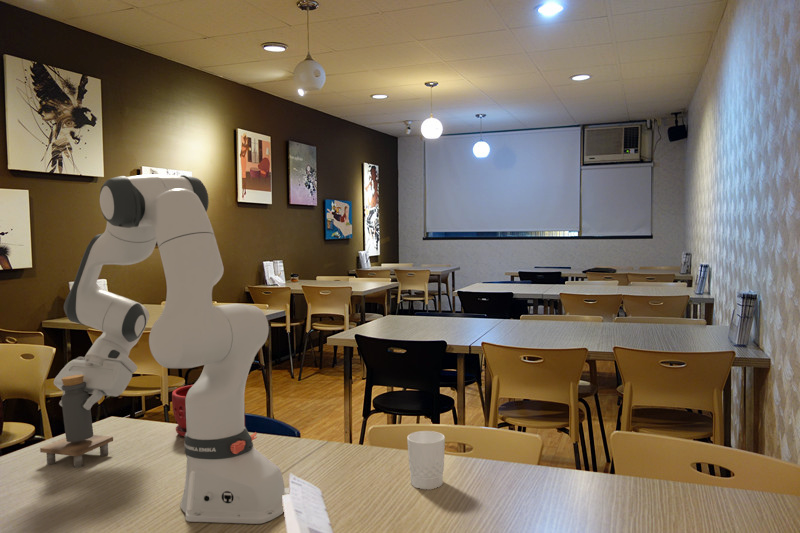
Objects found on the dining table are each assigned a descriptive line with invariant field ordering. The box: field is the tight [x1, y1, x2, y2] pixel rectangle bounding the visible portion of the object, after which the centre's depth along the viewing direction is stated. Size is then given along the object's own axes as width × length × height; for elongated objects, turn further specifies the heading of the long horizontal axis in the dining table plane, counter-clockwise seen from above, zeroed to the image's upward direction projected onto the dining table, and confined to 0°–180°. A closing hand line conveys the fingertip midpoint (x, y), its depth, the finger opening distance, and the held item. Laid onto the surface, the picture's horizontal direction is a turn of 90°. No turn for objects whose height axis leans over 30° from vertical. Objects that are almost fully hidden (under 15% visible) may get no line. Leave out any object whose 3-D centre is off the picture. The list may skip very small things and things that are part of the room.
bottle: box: [60, 375, 94, 442], centre depth 147 cm, size 6×6×15 cm
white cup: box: [406, 430, 446, 490], centre depth 129 cm, size 8×8×10 cm
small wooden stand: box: [39, 434, 114, 469], centre depth 148 cm, size 11×11×4 cm
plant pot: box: [171, 384, 194, 438], centre depth 166 cm, size 13×13×12 cm
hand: (73, 407), depth 147 cm, fingers closed on bottle, 6 cm apart
